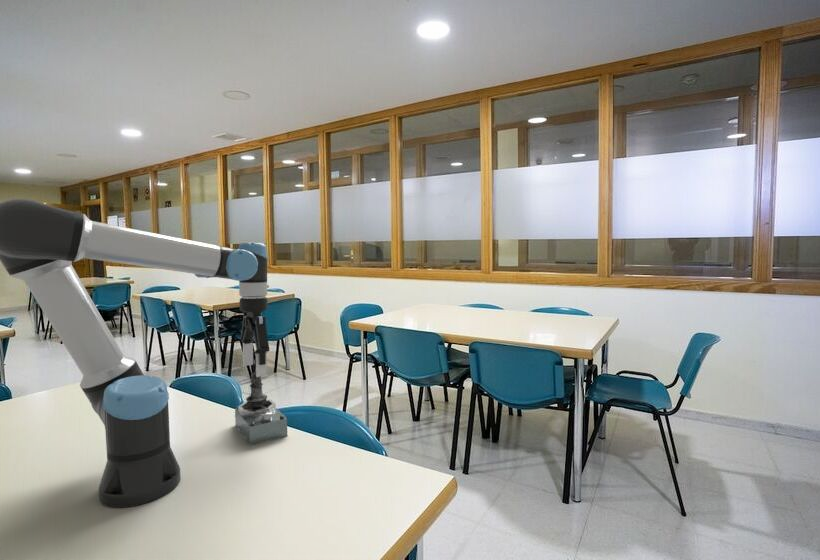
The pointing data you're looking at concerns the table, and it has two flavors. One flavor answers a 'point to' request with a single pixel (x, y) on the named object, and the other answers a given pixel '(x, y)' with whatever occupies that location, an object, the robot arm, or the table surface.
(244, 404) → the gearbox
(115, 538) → the table surface
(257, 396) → the dark grey tapered piece
